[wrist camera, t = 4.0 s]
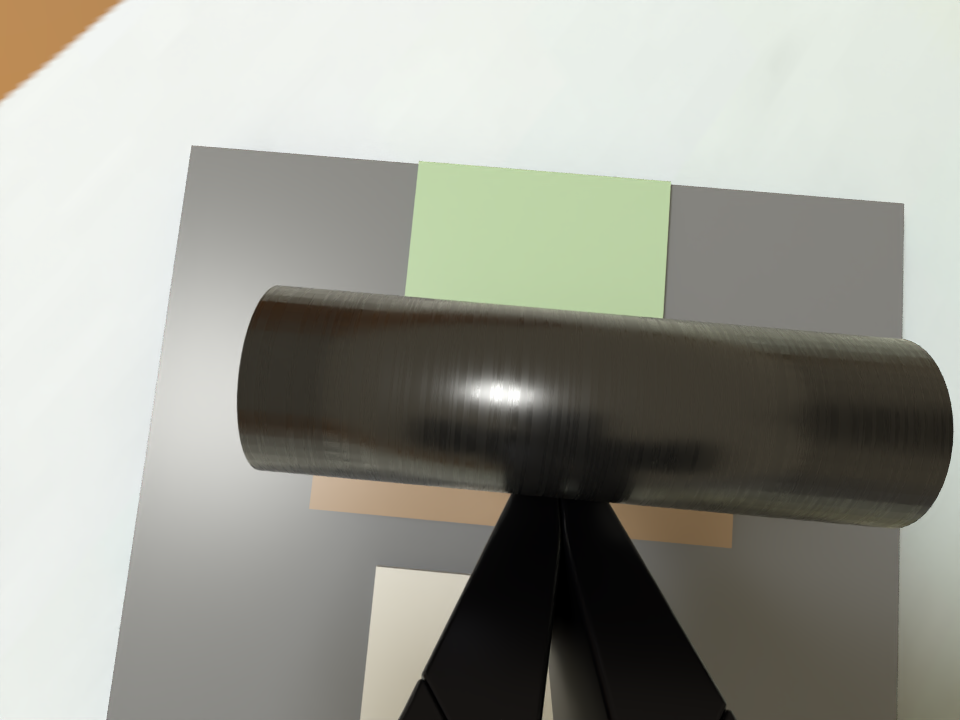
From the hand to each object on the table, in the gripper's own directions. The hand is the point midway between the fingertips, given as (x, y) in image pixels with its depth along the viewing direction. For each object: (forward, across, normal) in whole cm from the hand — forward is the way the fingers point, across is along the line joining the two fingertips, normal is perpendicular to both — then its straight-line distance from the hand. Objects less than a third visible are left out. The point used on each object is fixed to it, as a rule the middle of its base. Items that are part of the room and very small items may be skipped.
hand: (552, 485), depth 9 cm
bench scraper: (+5, 0, +4) cm, 7 cm away
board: (+6, 0, +8) cm, 10 cm away
